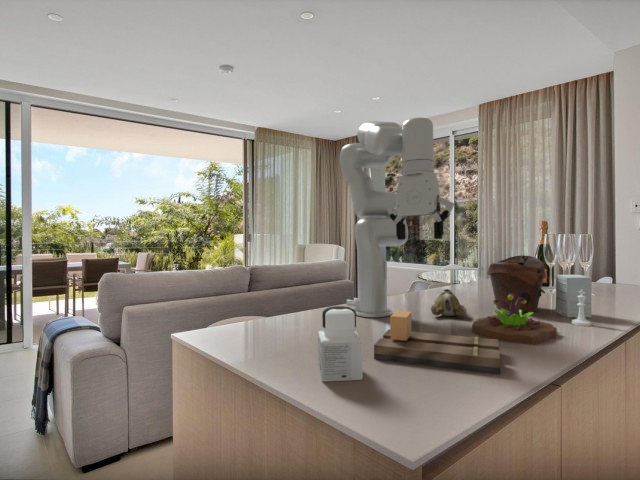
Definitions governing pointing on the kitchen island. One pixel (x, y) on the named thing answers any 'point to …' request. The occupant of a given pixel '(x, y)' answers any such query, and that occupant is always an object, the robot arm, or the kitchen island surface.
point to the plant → (514, 325)
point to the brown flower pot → (518, 281)
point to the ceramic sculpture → (447, 304)
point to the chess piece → (581, 312)
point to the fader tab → (400, 325)
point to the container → (339, 346)
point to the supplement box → (572, 294)
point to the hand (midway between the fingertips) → (419, 239)
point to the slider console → (441, 351)
